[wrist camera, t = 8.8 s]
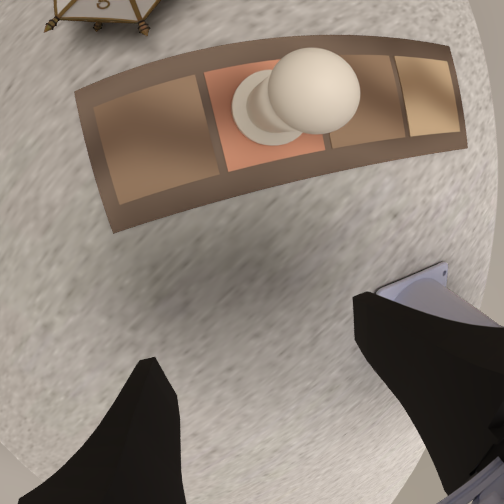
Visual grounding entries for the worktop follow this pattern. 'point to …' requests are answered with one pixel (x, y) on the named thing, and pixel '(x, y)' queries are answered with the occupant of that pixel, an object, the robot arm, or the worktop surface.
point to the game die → (103, 12)
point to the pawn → (296, 97)
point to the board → (240, 147)
